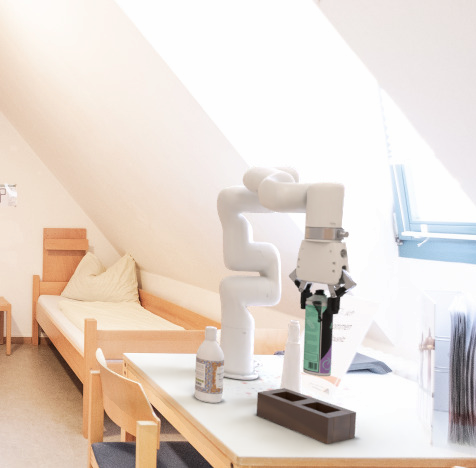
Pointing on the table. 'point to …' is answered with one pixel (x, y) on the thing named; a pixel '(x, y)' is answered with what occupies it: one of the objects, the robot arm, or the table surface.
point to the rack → (307, 415)
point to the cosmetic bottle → (292, 360)
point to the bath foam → (209, 368)
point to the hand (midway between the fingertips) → (319, 310)
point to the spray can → (317, 336)
